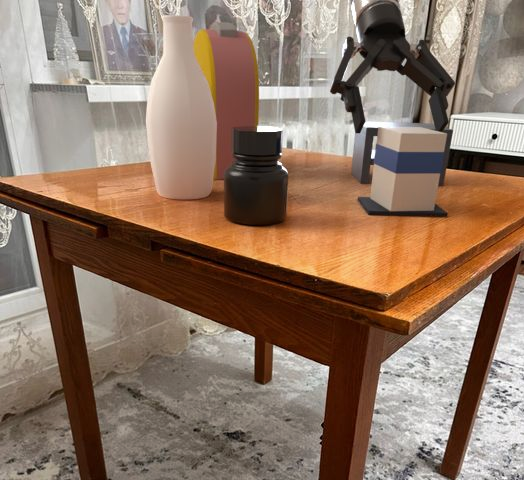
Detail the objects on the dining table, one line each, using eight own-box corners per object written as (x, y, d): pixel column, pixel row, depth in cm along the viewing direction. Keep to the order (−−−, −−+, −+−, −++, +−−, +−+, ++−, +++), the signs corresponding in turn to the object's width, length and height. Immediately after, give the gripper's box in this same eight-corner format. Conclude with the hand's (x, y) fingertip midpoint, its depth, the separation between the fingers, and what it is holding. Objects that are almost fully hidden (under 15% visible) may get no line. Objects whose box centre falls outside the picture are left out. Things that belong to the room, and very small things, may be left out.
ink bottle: (300, 218, 78) (306, 129, 72) (263, 230, 72) (266, 134, 66) (248, 207, 83) (249, 123, 78) (209, 218, 77) (207, 127, 71)
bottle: (139, 198, 87) (124, 12, 75) (165, 185, 96) (156, 19, 85) (205, 203, 85) (201, 13, 73) (225, 190, 94) (224, 20, 82)
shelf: (426, 174, 114) (434, 123, 110) (443, 185, 104) (453, 129, 99) (351, 172, 114) (356, 121, 109) (360, 183, 103) (366, 127, 99)
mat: (428, 202, 90) (429, 198, 90) (447, 217, 82) (448, 213, 81) (357, 200, 90) (357, 196, 90) (368, 214, 81) (368, 210, 81)
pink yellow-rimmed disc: (258, 178, 105) (262, 20, 93) (212, 179, 103) (210, 17, 90) (231, 161, 123) (232, 26, 111) (192, 161, 120) (188, 24, 108)
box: (409, 197, 90) (420, 127, 85) (434, 210, 82) (447, 133, 77) (369, 198, 89) (377, 126, 84) (390, 211, 81) (401, 133, 76)
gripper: (437, 42, 96) (463, 143, 89) (300, 37, 91) (318, 143, 85) (458, 4, 88) (488, 111, 82) (311, -4, 84) (331, 109, 78)
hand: (402, 128), depth 84 cm, fingers open, 13 cm apart
